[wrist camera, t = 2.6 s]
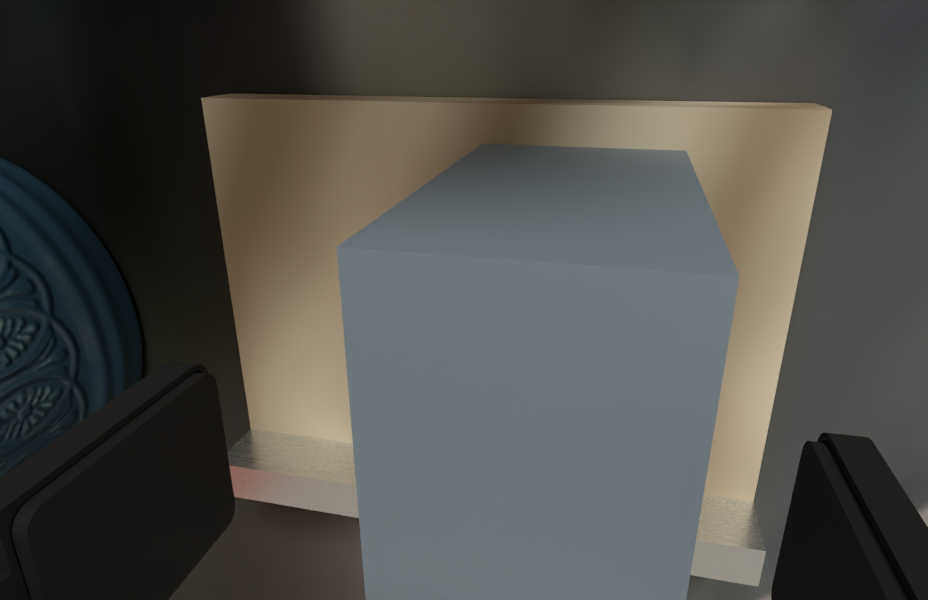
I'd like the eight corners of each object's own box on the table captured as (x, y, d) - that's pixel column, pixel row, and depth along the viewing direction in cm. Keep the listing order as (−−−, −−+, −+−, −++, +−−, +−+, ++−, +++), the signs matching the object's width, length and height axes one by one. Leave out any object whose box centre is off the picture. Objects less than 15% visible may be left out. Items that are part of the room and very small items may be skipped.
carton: (686, 150, 16) (739, 275, 7) (655, 403, 18) (669, 699, 10) (467, 142, 17) (309, 244, 9) (467, 381, 19) (346, 629, 11)
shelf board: (815, 103, 16) (859, 120, 13) (739, 501, 20) (758, 586, 17) (231, 93, 19) (153, 105, 16) (276, 434, 24) (222, 494, 21)
